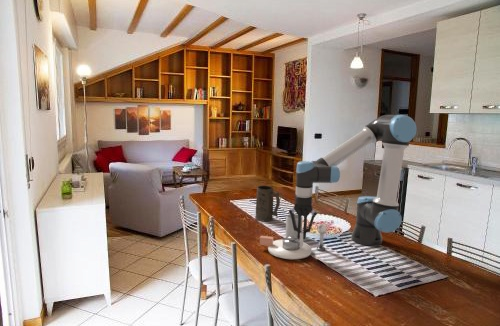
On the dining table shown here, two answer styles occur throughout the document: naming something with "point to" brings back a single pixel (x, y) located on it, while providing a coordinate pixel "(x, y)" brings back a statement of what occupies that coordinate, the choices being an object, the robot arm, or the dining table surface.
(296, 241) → the cover
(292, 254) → the turntable
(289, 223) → the mug
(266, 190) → the beer stein
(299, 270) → the dining table surface
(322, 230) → the dial post
